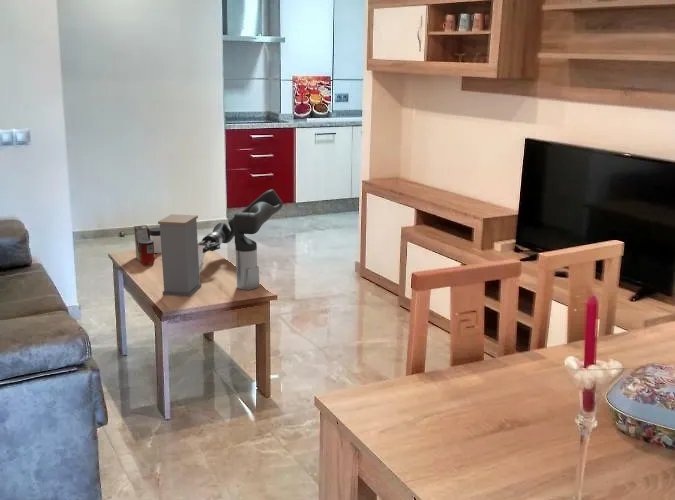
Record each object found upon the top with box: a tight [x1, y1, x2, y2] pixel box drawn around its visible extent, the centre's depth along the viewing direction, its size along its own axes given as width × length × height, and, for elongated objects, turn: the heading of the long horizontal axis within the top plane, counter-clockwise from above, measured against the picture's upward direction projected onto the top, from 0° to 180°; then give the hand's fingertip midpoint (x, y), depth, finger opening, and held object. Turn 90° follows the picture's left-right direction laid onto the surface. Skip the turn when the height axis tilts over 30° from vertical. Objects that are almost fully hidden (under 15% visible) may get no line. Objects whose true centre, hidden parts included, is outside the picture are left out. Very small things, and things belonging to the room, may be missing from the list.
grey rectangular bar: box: [198, 242, 207, 276], centre depth 328 cm, size 19×5×3 cm
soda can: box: [139, 239, 156, 267], centre depth 349 cm, size 7×7×12 cm
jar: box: [149, 226, 162, 253], centre depth 371 cm, size 9×8×12 cm
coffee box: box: [133, 224, 151, 262], centre depth 358 cm, size 9×6×16 cm
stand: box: [157, 214, 202, 297], centre depth 308 cm, size 14×12×32 cm
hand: (199, 250), depth 330 cm, fingers open, 3 cm apart
